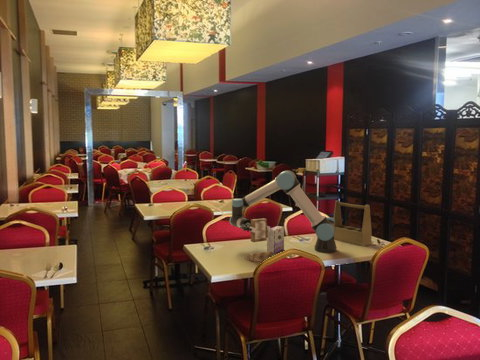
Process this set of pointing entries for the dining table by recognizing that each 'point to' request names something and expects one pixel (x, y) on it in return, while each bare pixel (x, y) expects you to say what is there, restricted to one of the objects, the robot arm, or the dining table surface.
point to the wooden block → (259, 230)
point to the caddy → (351, 233)
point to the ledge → (259, 256)
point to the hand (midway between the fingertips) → (262, 229)
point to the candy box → (275, 239)
